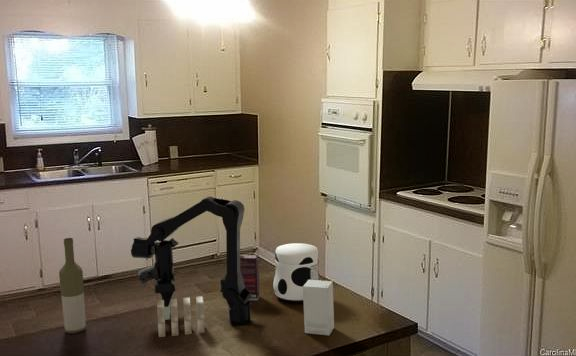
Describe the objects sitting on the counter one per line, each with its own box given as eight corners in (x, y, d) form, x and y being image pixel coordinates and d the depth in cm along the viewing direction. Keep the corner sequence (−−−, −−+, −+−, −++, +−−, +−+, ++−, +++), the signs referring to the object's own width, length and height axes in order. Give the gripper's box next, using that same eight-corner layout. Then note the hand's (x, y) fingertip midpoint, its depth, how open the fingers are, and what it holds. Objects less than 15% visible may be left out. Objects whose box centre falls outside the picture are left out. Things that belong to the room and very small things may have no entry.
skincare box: (334, 328, 176) (334, 280, 174) (329, 337, 170) (329, 288, 168) (309, 324, 179) (308, 278, 177) (302, 333, 173) (302, 285, 170)
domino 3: (178, 328, 178) (176, 298, 176) (178, 335, 173) (177, 304, 171) (171, 329, 177) (170, 299, 176) (171, 335, 173) (170, 305, 171)
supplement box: (259, 296, 205) (258, 254, 202) (257, 300, 200) (256, 258, 197) (236, 295, 206) (235, 253, 203) (234, 300, 201) (232, 257, 198)
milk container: (271, 289, 211) (270, 243, 208) (316, 287, 213) (316, 241, 210) (275, 307, 194) (274, 257, 191) (324, 304, 196) (324, 254, 193)
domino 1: (165, 329, 177) (163, 299, 175) (165, 336, 172) (163, 305, 171) (158, 330, 177) (157, 300, 175) (158, 337, 172) (157, 306, 170)
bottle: (76, 336, 173) (69, 242, 168) (58, 333, 176) (50, 240, 171) (91, 327, 180) (85, 237, 175) (74, 324, 182) (67, 235, 177)
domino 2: (170, 313, 190) (168, 285, 188) (170, 319, 185) (168, 290, 183) (164, 314, 189) (162, 285, 188) (163, 319, 185) (162, 291, 183)
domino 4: (190, 327, 179) (189, 297, 177) (191, 333, 174) (190, 303, 172) (184, 327, 178) (183, 298, 177) (185, 334, 173) (183, 303, 172)
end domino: (203, 325, 179) (202, 296, 178) (204, 332, 175) (203, 302, 173) (197, 326, 179) (196, 296, 178) (198, 333, 174) (196, 302, 173)
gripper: (140, 252, 191) (142, 296, 194) (137, 269, 173) (140, 317, 176) (173, 250, 194) (175, 293, 196) (173, 266, 176) (176, 313, 178)
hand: (166, 303), depth 187 cm, fingers closed on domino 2, 5 cm apart
